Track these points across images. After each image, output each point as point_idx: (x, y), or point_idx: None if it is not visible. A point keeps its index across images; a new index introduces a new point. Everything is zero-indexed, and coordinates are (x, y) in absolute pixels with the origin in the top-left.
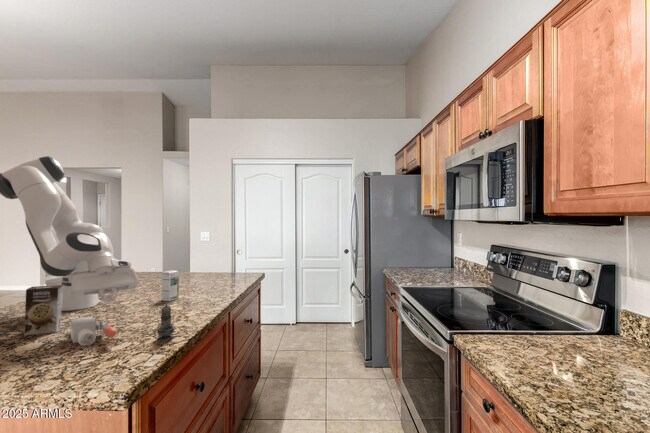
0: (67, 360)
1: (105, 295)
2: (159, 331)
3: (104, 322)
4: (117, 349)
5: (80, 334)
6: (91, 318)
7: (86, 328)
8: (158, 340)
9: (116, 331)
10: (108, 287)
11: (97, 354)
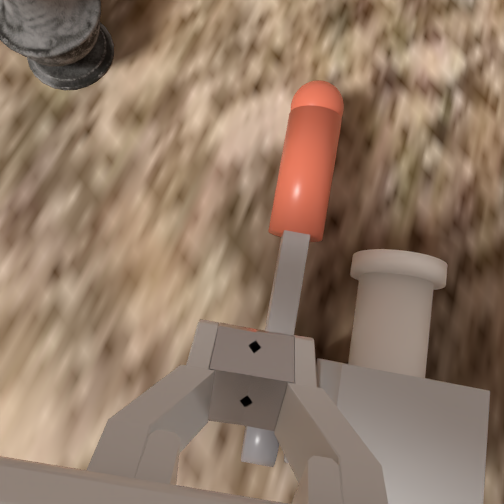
0: (496, 135)
1: (296, 388)
2: (95, 4)
3: None
4: None
5: (444, 274)
6: None
7: (388, 370)
8: (113, 47)
9: (294, 95)
10: (228, 494)
11: (383, 103)
